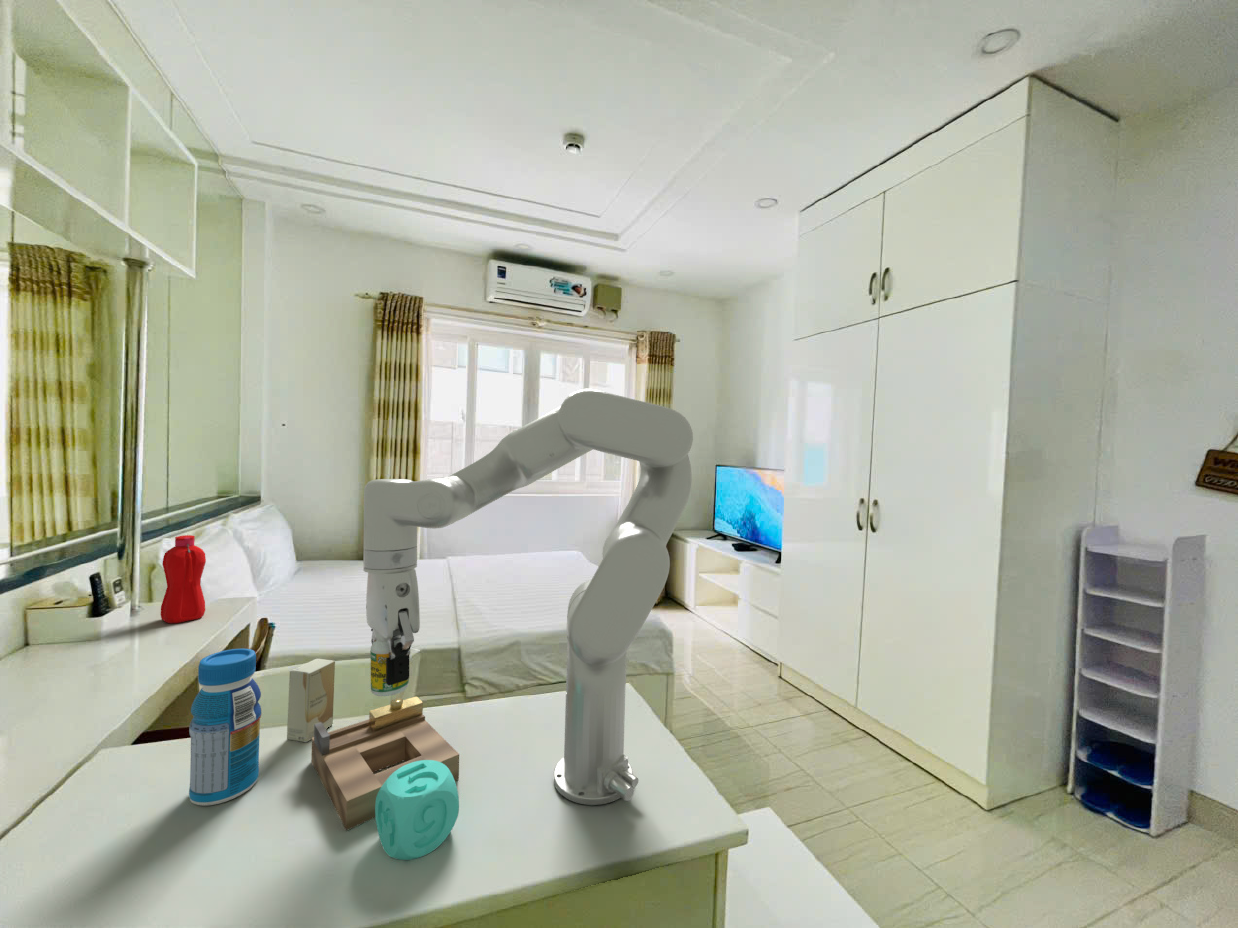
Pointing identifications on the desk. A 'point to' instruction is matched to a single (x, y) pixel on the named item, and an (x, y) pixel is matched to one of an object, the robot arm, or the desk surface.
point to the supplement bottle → (383, 668)
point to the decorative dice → (416, 809)
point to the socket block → (372, 761)
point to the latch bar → (395, 713)
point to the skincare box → (310, 698)
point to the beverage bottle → (225, 728)
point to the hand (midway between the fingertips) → (390, 674)
